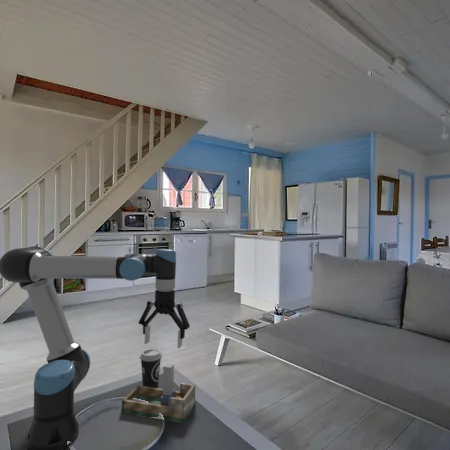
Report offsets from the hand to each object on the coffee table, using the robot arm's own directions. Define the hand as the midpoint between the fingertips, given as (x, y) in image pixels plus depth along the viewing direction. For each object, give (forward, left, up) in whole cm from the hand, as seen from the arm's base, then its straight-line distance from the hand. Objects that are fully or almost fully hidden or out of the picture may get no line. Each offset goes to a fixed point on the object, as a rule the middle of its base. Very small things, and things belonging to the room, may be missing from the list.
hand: (163, 344), depth 122 cm
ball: (+6, +1, -22) cm, 22 cm away
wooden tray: (-2, +1, -25) cm, 25 cm away
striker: (+2, +1, -23) cm, 23 cm away
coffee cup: (-13, +16, -25) cm, 32 cm away
